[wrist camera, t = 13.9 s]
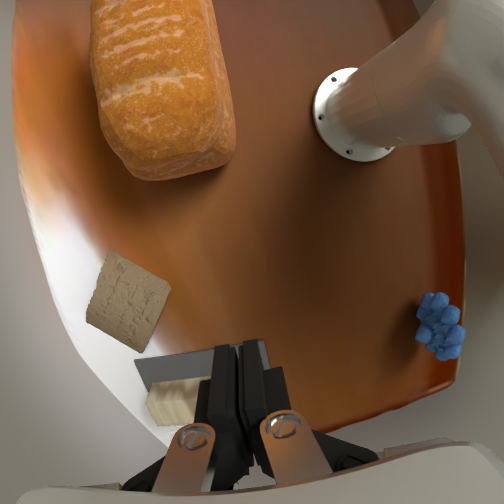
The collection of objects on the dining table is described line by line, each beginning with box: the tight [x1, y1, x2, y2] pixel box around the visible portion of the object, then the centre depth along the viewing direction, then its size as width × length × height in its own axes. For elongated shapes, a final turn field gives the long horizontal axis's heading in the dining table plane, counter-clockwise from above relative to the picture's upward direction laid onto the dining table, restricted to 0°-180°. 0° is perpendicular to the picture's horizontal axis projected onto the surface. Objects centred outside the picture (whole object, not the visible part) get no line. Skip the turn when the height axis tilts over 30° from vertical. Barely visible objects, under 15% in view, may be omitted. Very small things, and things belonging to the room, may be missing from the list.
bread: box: [89, 0, 236, 181], centre depth 27 cm, size 14×26×15 cm, turn 11°
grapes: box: [415, 292, 465, 361], centre depth 39 cm, size 12×7×12 cm, turn 18°
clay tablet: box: [86, 250, 171, 353], centre depth 41 cm, size 14×10×3 cm
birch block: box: [146, 376, 211, 426], centre depth 43 cm, size 5×5×12 cm
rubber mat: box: [134, 339, 270, 393], centre depth 46 cm, size 20×14×1 cm
